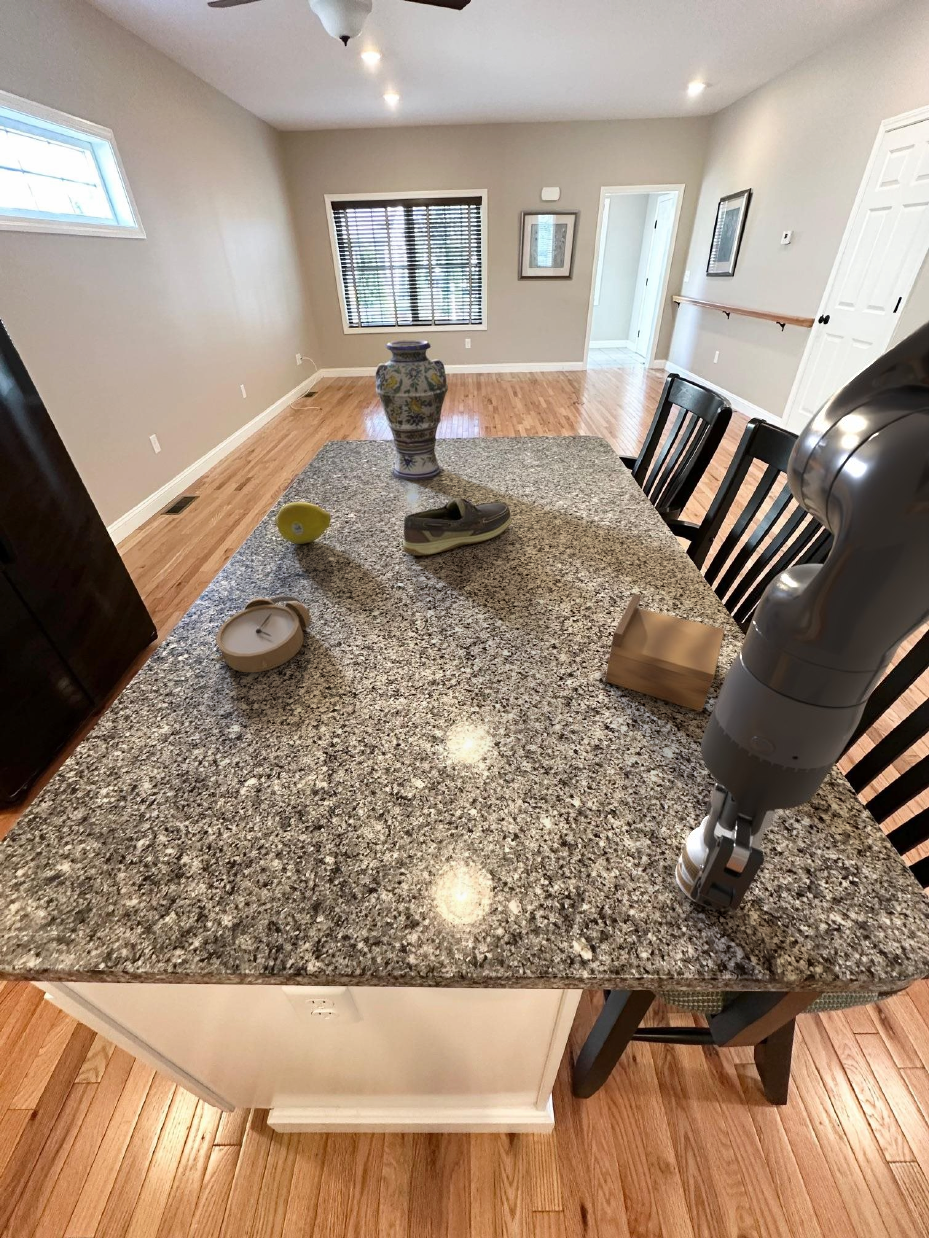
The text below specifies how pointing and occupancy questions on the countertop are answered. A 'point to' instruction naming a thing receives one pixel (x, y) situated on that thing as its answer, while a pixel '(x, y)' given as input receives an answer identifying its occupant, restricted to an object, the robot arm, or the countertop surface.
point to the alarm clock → (263, 634)
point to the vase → (412, 406)
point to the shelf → (664, 656)
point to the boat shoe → (454, 526)
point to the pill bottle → (694, 856)
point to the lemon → (302, 522)
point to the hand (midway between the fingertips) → (711, 854)
